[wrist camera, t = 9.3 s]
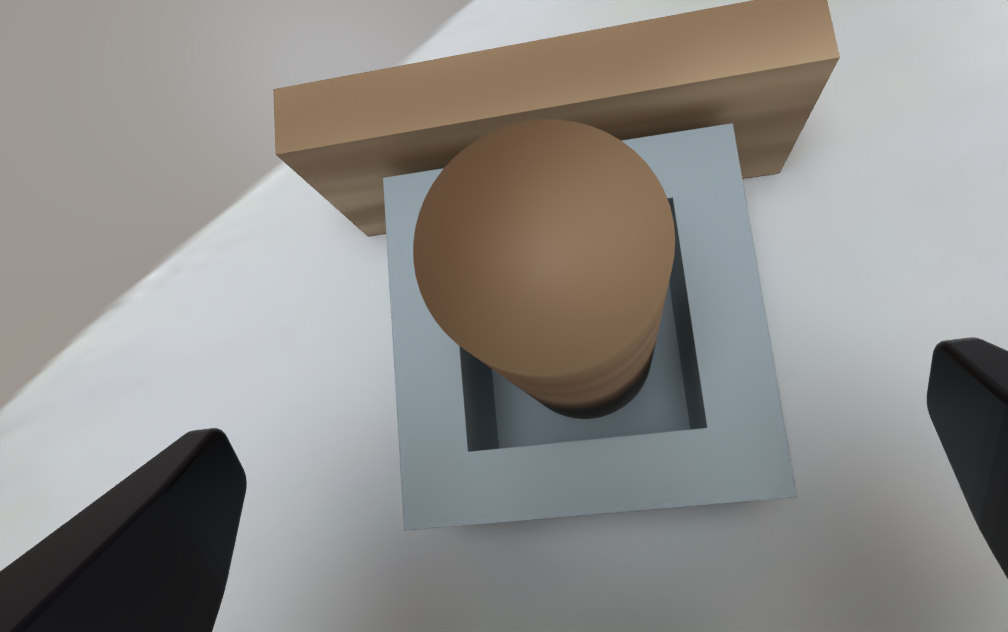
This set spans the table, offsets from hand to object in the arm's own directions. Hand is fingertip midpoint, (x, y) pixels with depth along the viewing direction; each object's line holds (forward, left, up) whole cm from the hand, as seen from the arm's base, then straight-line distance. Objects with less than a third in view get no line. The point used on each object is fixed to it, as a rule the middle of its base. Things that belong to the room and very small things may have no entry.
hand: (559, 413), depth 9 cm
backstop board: (+6, -4, -11) cm, 13 cm away
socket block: (+2, -1, -11) cm, 11 cm away
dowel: (+2, -1, -10) cm, 10 cm away
